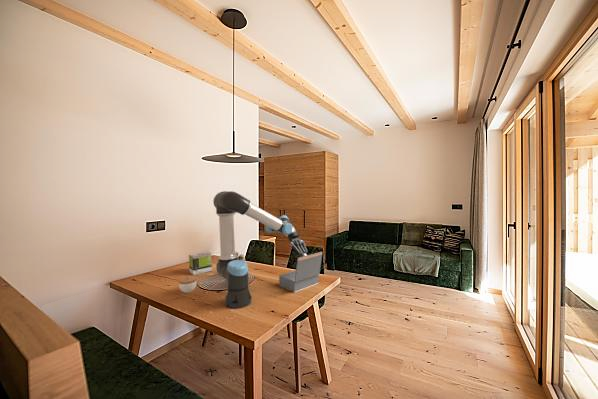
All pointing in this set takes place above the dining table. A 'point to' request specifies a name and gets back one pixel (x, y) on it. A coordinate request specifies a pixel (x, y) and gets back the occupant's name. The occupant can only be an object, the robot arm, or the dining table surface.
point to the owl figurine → (240, 256)
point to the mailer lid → (308, 266)
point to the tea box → (200, 262)
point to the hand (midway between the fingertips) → (308, 262)
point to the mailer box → (290, 284)
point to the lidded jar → (187, 284)
